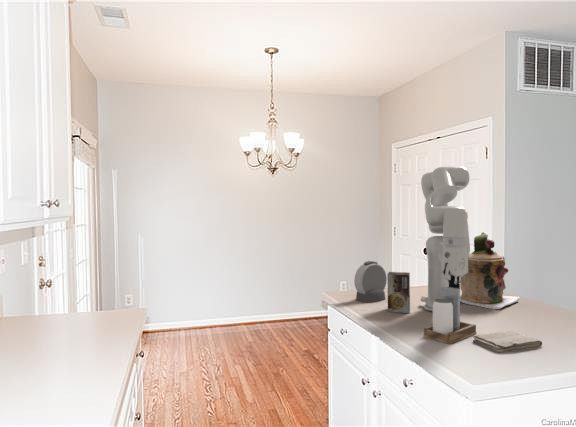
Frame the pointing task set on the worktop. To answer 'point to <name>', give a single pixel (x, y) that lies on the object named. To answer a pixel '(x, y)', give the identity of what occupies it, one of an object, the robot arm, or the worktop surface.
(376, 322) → the worktop surface
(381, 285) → the alarm clock
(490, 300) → the cookie jar
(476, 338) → the washcloth
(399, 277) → the coffee box
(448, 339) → the wooden tray
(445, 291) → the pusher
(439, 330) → the can
